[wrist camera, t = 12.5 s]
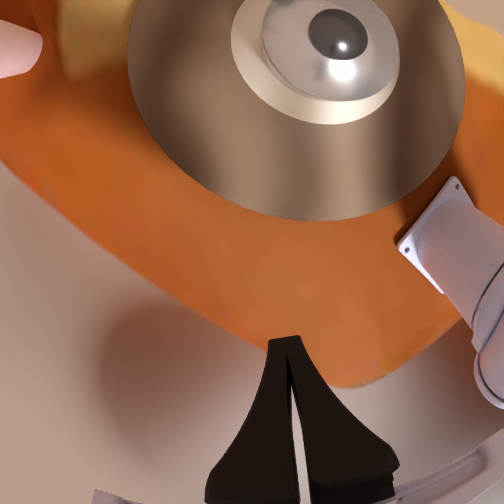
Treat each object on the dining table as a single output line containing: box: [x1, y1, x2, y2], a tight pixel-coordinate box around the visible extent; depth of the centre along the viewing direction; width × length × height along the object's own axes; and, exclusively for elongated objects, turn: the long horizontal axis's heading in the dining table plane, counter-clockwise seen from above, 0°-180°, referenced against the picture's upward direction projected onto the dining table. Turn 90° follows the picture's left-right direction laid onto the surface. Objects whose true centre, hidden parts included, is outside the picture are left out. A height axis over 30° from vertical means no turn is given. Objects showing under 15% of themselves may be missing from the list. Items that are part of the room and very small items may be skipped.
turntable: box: [127, 0, 465, 221], centre depth 11 cm, size 22×22×4 cm
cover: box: [260, 0, 399, 102], centre depth 10 cm, size 7×7×3 cm
